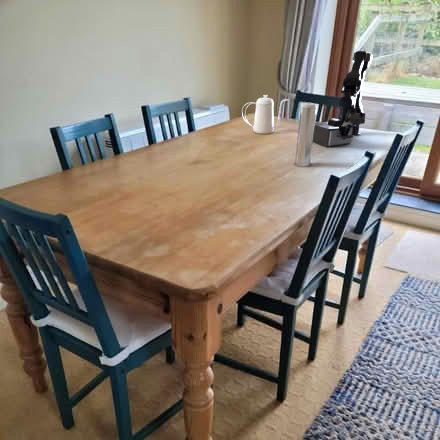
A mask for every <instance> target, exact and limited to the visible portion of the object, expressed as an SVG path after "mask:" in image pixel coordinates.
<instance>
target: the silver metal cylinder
mask: <svg viewBox="0 0 440 440" xmlns="http://www.w3.org/2000/svg"><path fill="white" fill-rule="evenodd" d="M299 108H300V109H299V110H300V111H299V118H298V119H299V120H298V127H297V128H298V130H297V141H296V149H295V161H294V164H295V166H298V167H310V165H311V159H312V151H313V143H314V142H313V134H314V126H315V123H316V117H317V105H316V103H313V102H302V103H301V105H300V107H299Z"/></svg>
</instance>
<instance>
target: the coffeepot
mask: <svg viewBox="0 0 440 440" xmlns="http://www.w3.org/2000/svg"><path fill="white" fill-rule="evenodd" d="M262 96H263V97H259V98H258V99H256V101H255V102H253V101H251V102H246V103H245V104H244V105H242V108H241V111H243V110H244V107H245V106H246V105H247V106H246V108H248V107H249V106H250V105H252V104H255V112H254V119H253V125H252V124H250V122H249V121H248V119H247V117H246V115H243V114H244V113H246V111H247V109H245V111H244V113H241V116H242V119H243V121H244V122H245V123H246V124H247V125H249V126H250V127H252V130H253V133H255V134H259V135H269V134H272V133H273V132H274V129H275V128H278V127H279V124H280V120H281V113H282V106H283V103H284V102H286V101H287V102H288V101H290V99H288V98H285V99H281V101H280V104H279V109H278V116H277V121H276V124H275V125H274V105H275V104H274V103H275V102H274V100H273V98H271V97H268V94H263V95H262Z"/></svg>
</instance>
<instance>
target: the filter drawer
mask: <svg viewBox="0 0 440 440" xmlns="http://www.w3.org/2000/svg"><path fill="white" fill-rule="evenodd" d="M352 130H353V129H352V128H351V130H350V131H349V133H348V135H347V136H343V137H342V136H341V133H340V130H331V131H330V134H329V141H328V145H329V146H332V145H338V146H340V145H339V144H345V143H349V144H351V142H352V139H353V138H354V135H352ZM343 139H346V140H343ZM345 145H346V144H345ZM332 147H333V146H332Z"/></svg>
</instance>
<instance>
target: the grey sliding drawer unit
mask: <svg viewBox="0 0 440 440" xmlns="http://www.w3.org/2000/svg"><path fill="white" fill-rule="evenodd" d="M331 130H339V128H338V127H332V126H329V125H328V120H327V121H320V122H315V126H314V134H313V143H314V144H317V145H319V146H321V147H325V148H331V147H338V146H344V145H350V143H345V144H339V145H332V146H329V145H328V141H329V134H330V131H331Z"/></svg>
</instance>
